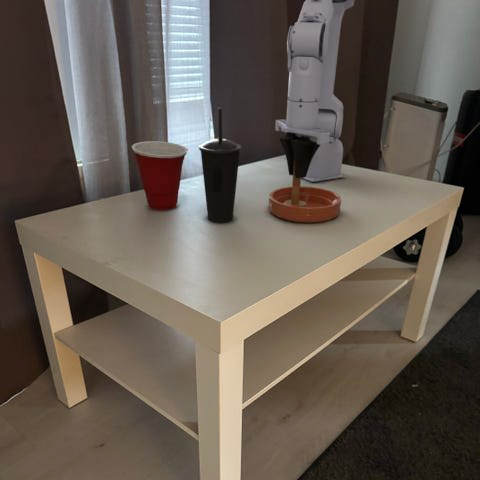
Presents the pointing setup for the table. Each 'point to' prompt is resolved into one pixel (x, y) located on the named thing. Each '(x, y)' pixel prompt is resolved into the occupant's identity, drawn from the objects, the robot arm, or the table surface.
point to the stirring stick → (295, 192)
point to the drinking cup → (220, 175)
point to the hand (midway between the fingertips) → (297, 175)
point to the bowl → (317, 204)
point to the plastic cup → (160, 172)
